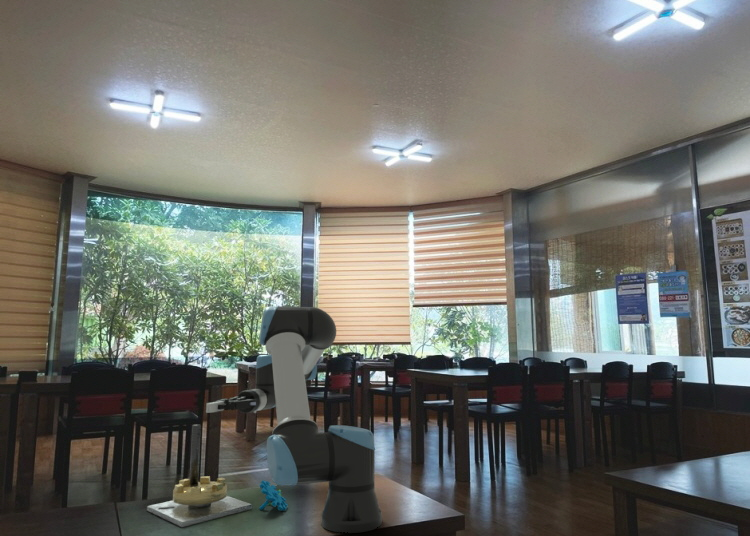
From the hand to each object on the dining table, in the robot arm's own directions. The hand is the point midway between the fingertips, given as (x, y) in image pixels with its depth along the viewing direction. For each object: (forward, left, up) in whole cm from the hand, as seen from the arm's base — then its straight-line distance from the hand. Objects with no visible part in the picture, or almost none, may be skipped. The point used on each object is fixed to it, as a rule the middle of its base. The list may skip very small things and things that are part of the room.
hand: (208, 408), depth 152 cm
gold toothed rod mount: (-8, +6, -23) cm, 25 cm away
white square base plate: (-8, +6, -26) cm, 28 cm away
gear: (-23, -8, -26) cm, 36 cm away
